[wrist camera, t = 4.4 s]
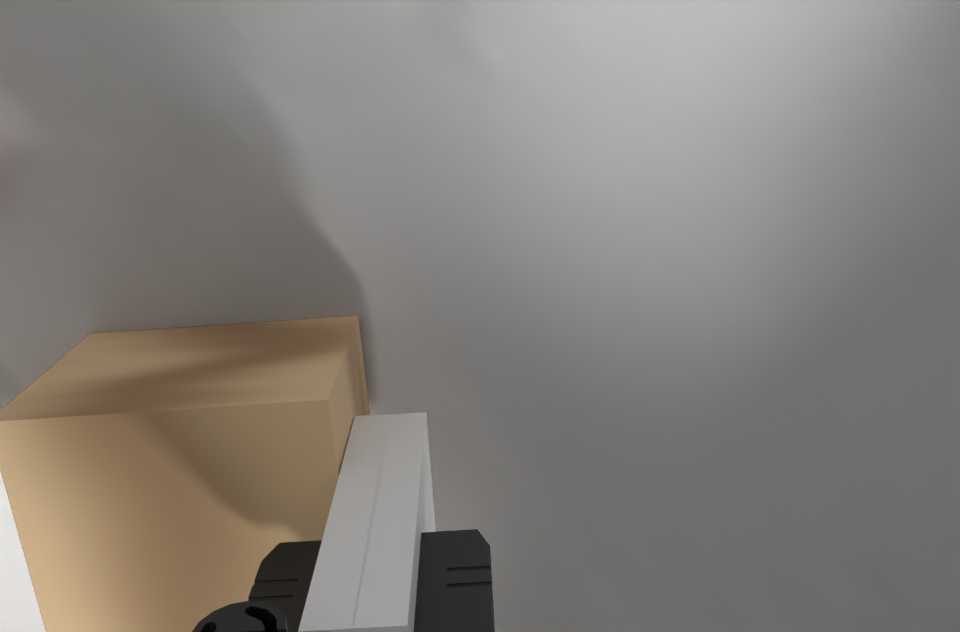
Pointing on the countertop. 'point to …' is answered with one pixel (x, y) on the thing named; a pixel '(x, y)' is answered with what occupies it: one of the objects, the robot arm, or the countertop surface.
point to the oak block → (176, 465)
